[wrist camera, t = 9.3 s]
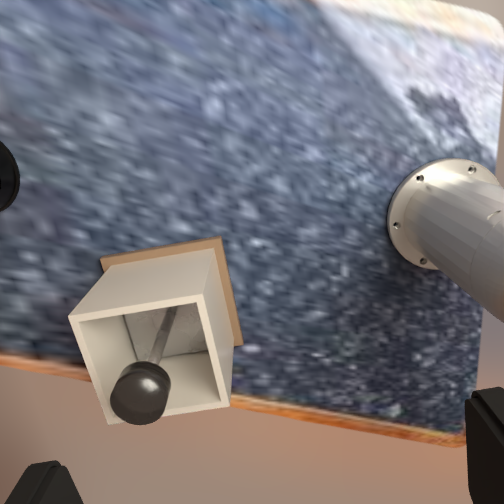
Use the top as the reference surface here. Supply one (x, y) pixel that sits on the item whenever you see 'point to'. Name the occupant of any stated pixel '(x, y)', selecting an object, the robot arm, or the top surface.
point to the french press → (8, 177)
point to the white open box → (154, 297)
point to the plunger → (154, 360)
